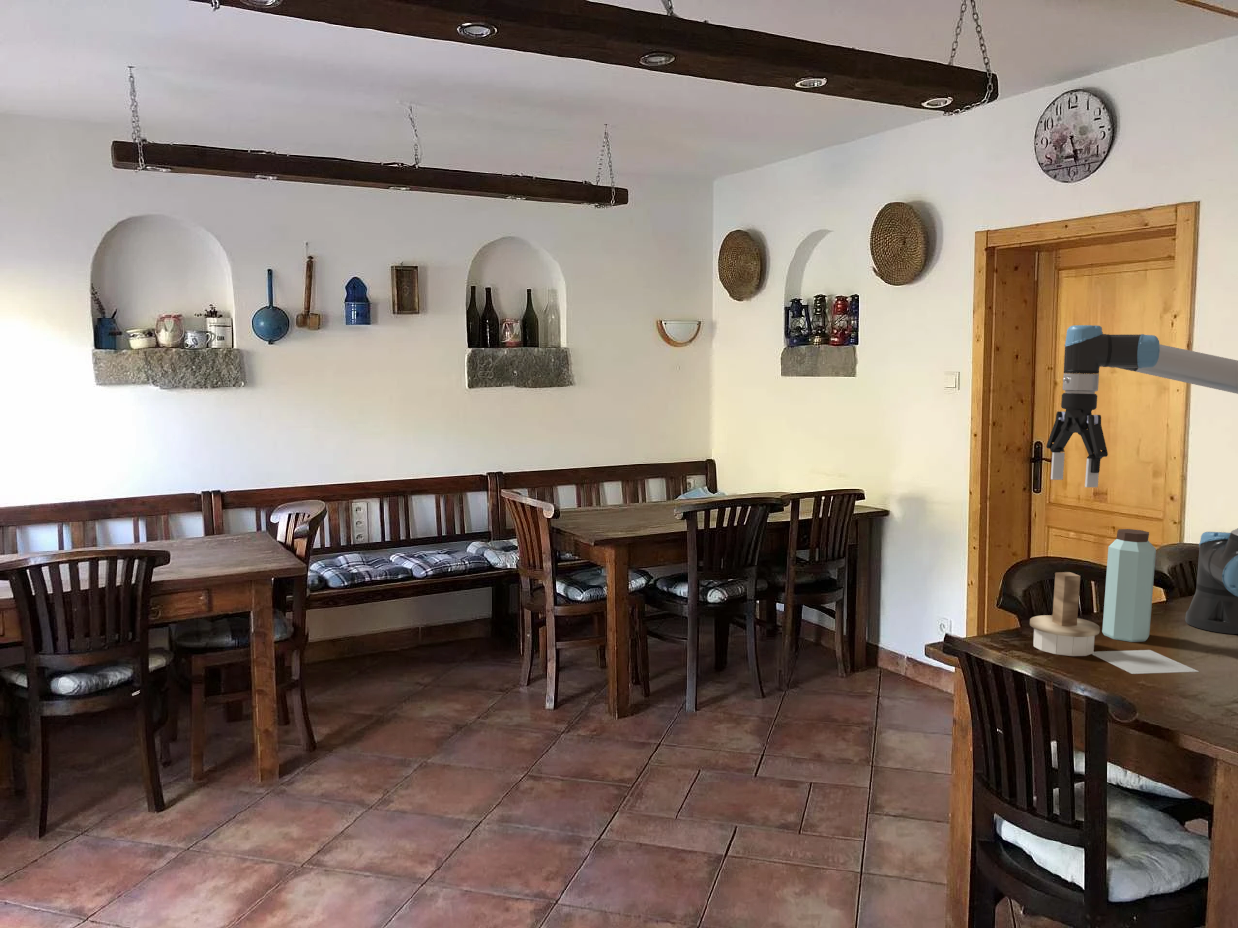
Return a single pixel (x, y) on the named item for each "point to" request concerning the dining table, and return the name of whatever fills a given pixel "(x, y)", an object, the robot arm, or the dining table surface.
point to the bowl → (1063, 644)
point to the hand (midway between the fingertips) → (1073, 483)
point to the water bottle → (1129, 586)
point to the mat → (1142, 662)
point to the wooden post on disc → (1065, 610)
